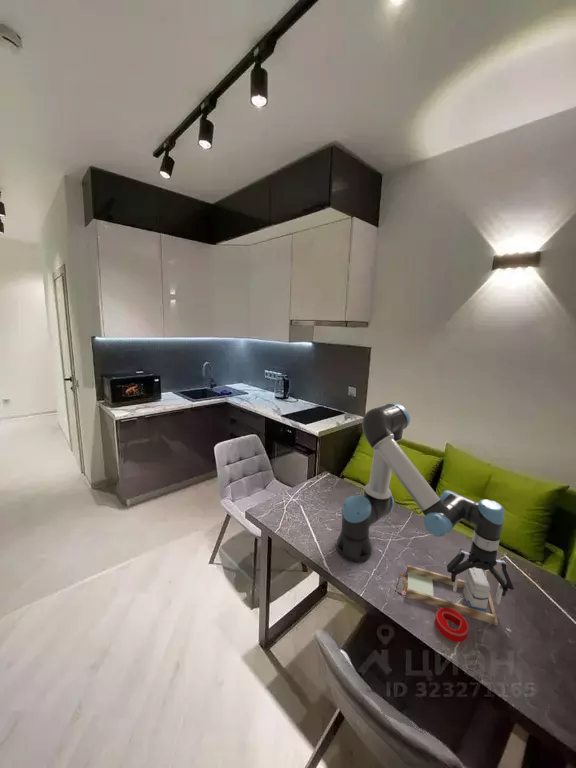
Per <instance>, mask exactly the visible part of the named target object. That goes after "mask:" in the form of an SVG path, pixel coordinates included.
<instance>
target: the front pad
mask: <svg viewBox="0 0 576 768" xmlns="http://www.w3.org/2000/svg"><path fill="white" fill-rule="evenodd" d="M407 578H408V589H411V590H414V591H418V592H421V593H424V594H428V595H431V596H434V597H435V595H434V583H433V581H434V580H432V579H430V578H426V577H423V576H419V575H416V574H412V573H409V572H408V573H407Z"/></svg>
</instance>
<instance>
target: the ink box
mask: <svg viewBox="0 0 576 768" xmlns="http://www.w3.org/2000/svg"><path fill="white" fill-rule="evenodd" d="M466 571H467V572H466V577H465V580H464V581H465V586H464V589H463V591H462V593H463V596H464V598H465V601H466V603H467V605H468V606H467V607H470V608H474V609H477V610H480V611H483V612H487V608H488V605H489V603H488V598H489V593H490V594H491V589H492V588H491V586H490V583H489V581H488V579H487V576H486V574H485V573H484V571H483V569H479V568H476V567H473V568H469V569H467V570H466Z"/></svg>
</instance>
